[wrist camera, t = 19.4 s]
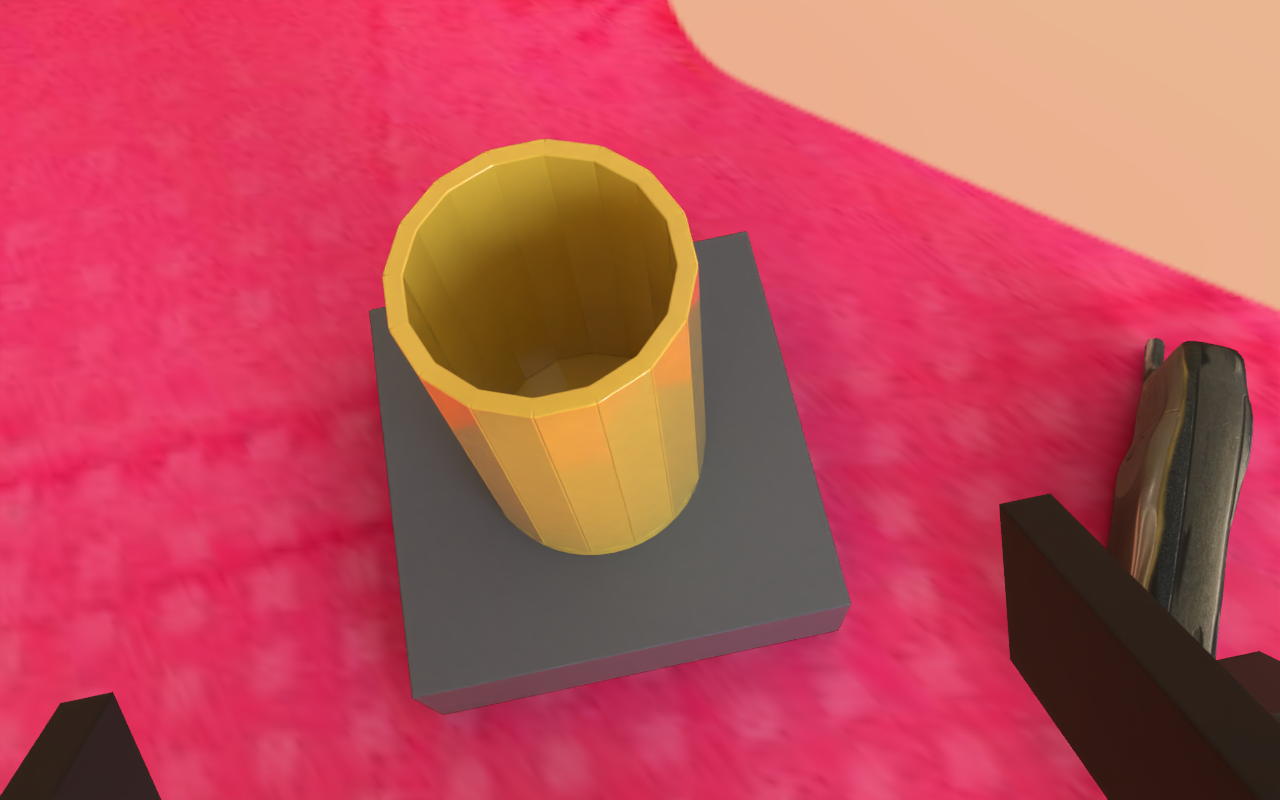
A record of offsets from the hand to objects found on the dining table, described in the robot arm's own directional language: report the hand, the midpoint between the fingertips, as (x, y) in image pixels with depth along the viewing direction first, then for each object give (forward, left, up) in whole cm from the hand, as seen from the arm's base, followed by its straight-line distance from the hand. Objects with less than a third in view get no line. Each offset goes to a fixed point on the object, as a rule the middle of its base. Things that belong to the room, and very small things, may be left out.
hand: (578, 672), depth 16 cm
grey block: (0, +11, -22) cm, 24 cm away
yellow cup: (0, +10, -18) cm, 21 cm away
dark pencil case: (+18, +4, -22) cm, 29 cm away
